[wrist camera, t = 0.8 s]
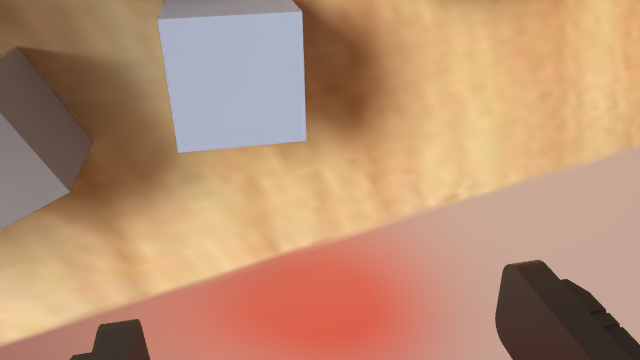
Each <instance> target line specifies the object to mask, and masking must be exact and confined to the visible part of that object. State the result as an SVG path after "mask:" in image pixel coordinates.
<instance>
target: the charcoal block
mask: <svg viewBox="0 0 640 360" xmlns="http://www.w3.org/2000/svg"><path fill="white" fill-rule="evenodd" d="M92 144H93V140H92V139H91V138H90V137H89V135H88V134H87V133H86V132H85V130H84V129H83V128H82V127H81V125H80V124H79V123H78V122H77V120H76V119H75V118H74V117H73V115H72V114H71V113H70V112H69V110H68V109H67V108H66V107H65V105H64V104H63V103H62V102H61V100H60V99H59V98H58V97H57V96H56V94H55V93H54V92H53V91H52V89H51V88H50V87H49V86H48V84H47V83H46V82H45V81H44V79H43V78H42V77H41V76H40V74H39V73H38V72H37V71H36V69H35V68H34V67H33V66H32V64H31V63H30V62H29V61H28V59H27V58H26V57H25V56H24V54H23V53H22V52H21V51H20V49H19V48H18V47H15V48H13V49H11V50H10V51H8V52H6V53H4V54H3V55H1V56H0V230H1V229H3V228H5V227H7V226H9V225H11V224H12V223H14V222H16V221H18V220H20V219H22V218H23V217H25V216H27V215H29V214H31V213H33V212H34V211H36V210H38V209H40V208H42V207H44V206H45V205H47V204H49V203H51V202H53V201H55V200H56V199H58V198H60V197H62V196H64V195H66V194H67V193H69V192H70V191H71V189H72V187H73V185H74V182H75V180H76V178H77V176H78V174H79V172H80V170H81V167H82V165H83V163H84V161H85V159H86V157H87V155H88V152H89V150H90V148H91V146H92Z"/></svg>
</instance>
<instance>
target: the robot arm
mask: <svg viewBox="0 0 640 360" xmlns="http://www.w3.org/2000/svg"><path fill="white" fill-rule="evenodd" d="M495 321H496V328H497V332H498V335H499V338H500V340H501V342H502V344H503V345H504V347H505V349H506V350H507V352H508V353H509V354H510V356H511V358H512V359H513V360H640V345H639V344H638V343H637V341H636V340H635V339H634V338H633V337H631V335H630V334H629V333H628V332H627V331H626V330H625V329H624V328H623V327H620V326H619V323H618V322H617V321H616V320H615V319H614V317H612V316H611V314H610V313H606V309H605V308H604V307H603V306H602V305H601V304H600V303H599V302H598V301H597V300H596V299H595V298H594V297H593V296H592V295H591V293H590V292H588V291H586V290H584V289H583V288H581V287H580V286H578V285H576V284H575V283H573V282H571V281H570V280H568V279H563V280H560V279H559V278H558V277H557V276H556V275H555V274H554V273H553V272H552V270H551V269H550V268H549V267H548V266H547V265H546V264H545V263H544V262H542V261H540V260H534V261H528V262H521V263H514V264H508V265H506V266H505V267H504V269H503V273H502V279H501V285H500V291H499V297H498V303H497V310H496V317H495ZM70 360H150V357H149V354H148V349H147V346H146V342H145V338H144V334H143V330H142V326H141V323H140V321H139V320H138V319H134V320H127V321H121V322H114V323H107V324H101V325H100V326H99V327H98V330H97V334H96V338H95V342H94V347H93V350H92V352H91V353H85V354H78V355H73V356H72V358H71V359H70Z"/></svg>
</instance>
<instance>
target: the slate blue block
mask: <svg viewBox="0 0 640 360" xmlns="http://www.w3.org/2000/svg"><path fill="white" fill-rule="evenodd" d="M157 20H158V27H159V33H160V40H161V46H162V53H163V59H164V66H165V72H166V79H167V85H168V92H169V98H170V104H171V111H172V117H173V124H174V130H175V137H176V143H177V150H178V153H182V152H193V151H204V150H214V149H225V148H236V147H247V146H257V145H268V144H279V143H289V142H300V141H306V112H305V81H304V51H303V20H302V11H301V10H300V8H299V7H298V6H297V5H296V4H295V3H294V2H293V1H292V0H165V1H164V4H163V6H162V9H161V11H160V14H159V16H158V19H157Z"/></svg>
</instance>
